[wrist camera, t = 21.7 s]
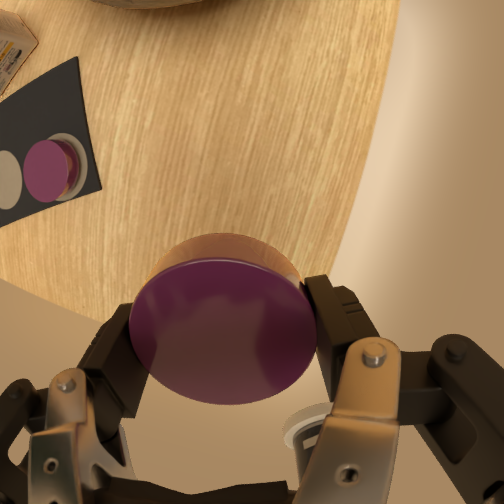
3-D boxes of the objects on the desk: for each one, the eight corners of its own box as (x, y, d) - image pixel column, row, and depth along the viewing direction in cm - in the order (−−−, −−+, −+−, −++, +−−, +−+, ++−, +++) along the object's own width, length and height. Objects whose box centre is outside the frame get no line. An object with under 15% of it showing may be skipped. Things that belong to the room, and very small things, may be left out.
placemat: (102, 189, 25) (99, 190, 24) (-6, 229, 26) (-8, 231, 25) (78, 56, 20) (75, 55, 19) (-28, 126, 20) (-30, 126, 20)
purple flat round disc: (88, 187, 24) (74, 192, 22) (46, 202, 25) (31, 209, 22) (75, 129, 22) (60, 130, 20) (33, 149, 22) (18, 152, 20)
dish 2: (308, 347, 12) (320, 393, 9) (175, 364, 12) (165, 409, 10) (295, 213, 10) (312, 240, 7) (129, 242, 10) (100, 275, 7)
